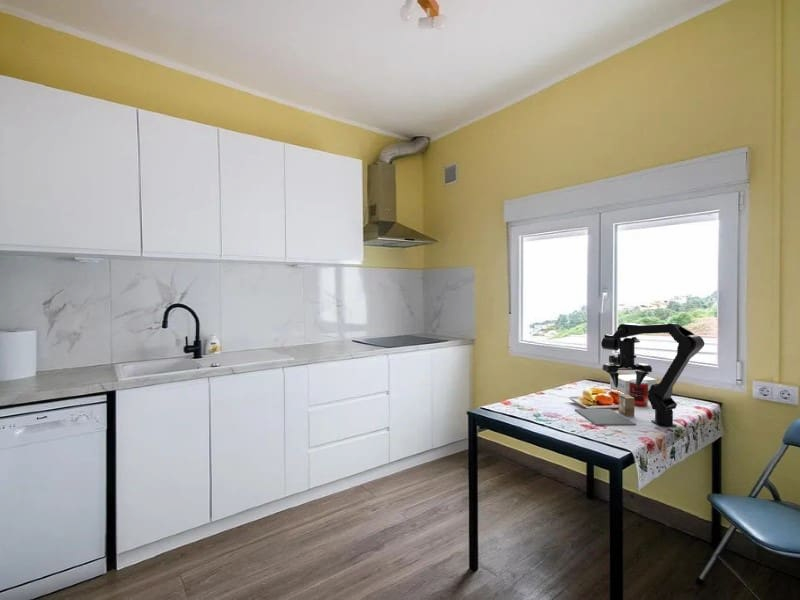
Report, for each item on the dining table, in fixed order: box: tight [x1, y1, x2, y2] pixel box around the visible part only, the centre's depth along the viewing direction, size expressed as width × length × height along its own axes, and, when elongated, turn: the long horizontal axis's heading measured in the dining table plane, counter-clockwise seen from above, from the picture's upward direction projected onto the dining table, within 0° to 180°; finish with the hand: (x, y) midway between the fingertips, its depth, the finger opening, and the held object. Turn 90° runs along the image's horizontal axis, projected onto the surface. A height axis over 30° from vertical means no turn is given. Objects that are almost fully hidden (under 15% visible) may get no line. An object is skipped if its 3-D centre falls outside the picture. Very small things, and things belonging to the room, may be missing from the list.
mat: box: [574, 408, 637, 426], centre depth 174 cm, size 20×16×1 cm
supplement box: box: [609, 373, 658, 395], centre depth 210 cm, size 17×13×9 cm
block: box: [618, 394, 635, 417], centre depth 178 cm, size 6×4×8 cm, turn 0°
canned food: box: [629, 379, 649, 407], centre depth 193 cm, size 8×8×11 cm
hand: (626, 387), depth 178 cm, fingers open, 9 cm apart
